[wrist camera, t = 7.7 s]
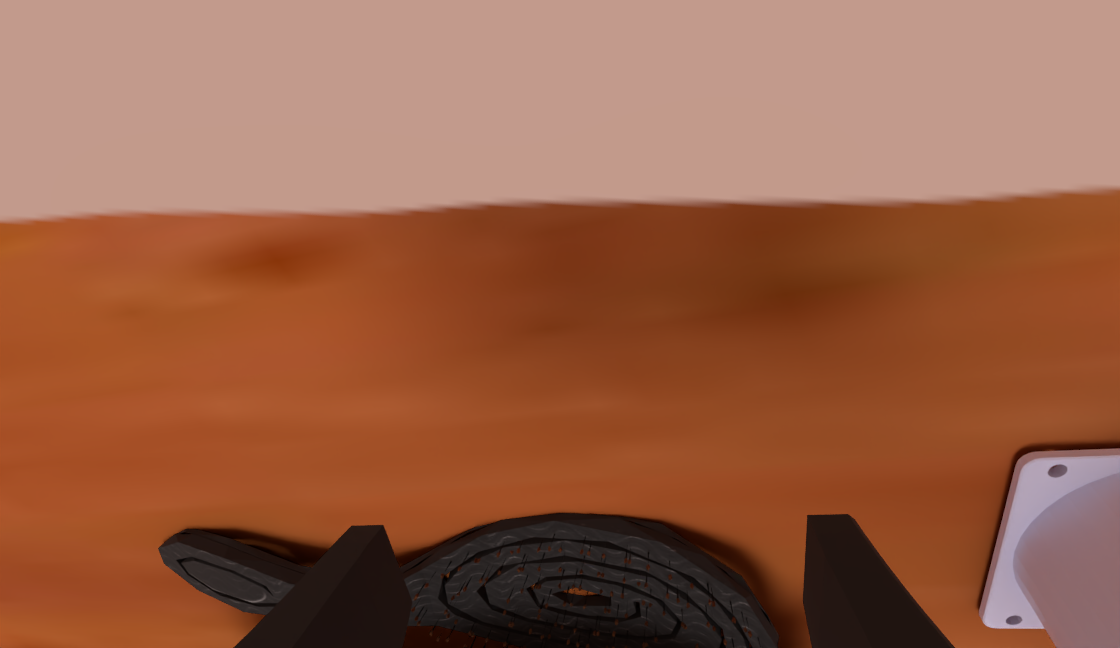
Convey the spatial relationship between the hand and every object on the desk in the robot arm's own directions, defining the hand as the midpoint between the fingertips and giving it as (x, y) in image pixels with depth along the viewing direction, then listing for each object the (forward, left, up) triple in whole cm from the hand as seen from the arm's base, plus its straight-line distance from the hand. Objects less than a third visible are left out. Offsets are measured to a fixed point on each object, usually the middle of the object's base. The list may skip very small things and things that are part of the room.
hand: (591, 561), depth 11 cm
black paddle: (+8, +12, -10) cm, 17 cm away
